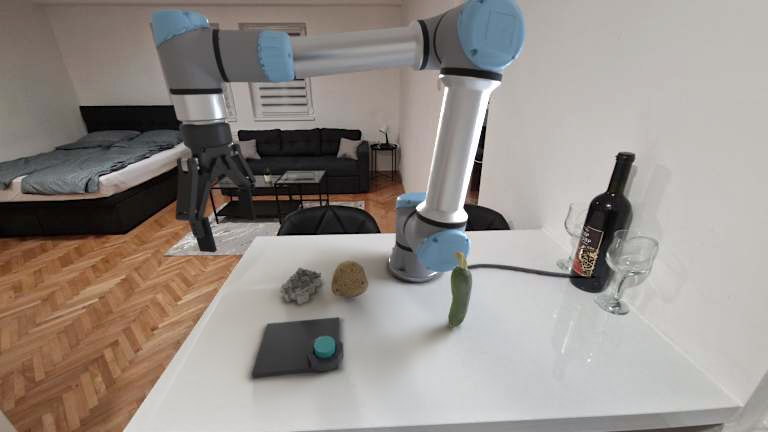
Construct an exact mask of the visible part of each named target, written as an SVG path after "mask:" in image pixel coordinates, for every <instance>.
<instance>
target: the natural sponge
mask: <svg viewBox="0 0 768 432" xmlns="http://www.w3.org/2000/svg"><path fill="white" fill-rule="evenodd" d="M330 286H331V287H330V289H331V292H332V294H333V295H335V296H337V297H343V298H356V297H359V296H361V295H363V294H364V293H365V292H366V291H367V289H368V287H369V280H368V276H367V273H366V270H365V268H364V267H363V266H362V265H361V264H360V263H358V262H357V261H354V260H346V261H342V262H340V263H339V264H338V265H337V266H336V267H335V269H334V271H333V275H332V280H331V285H330Z"/></svg>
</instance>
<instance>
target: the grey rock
mask: <svg viewBox="0 0 768 432" xmlns="http://www.w3.org/2000/svg"><path fill="white" fill-rule="evenodd" d="M321 278H322V273H321V272H316V270H311V269H307V268H306V269H305V268H303V267H298V268H297V270H296V271H295V272H294V273H293V274H292V275H290V277H289V278H288V279H287V280H286V281H285V282H284V283H282V284H281V285H280V289H279V294H282V295H283V298H284V300H285V302H288V303H290V302H291V301H296V302H297V305H298V304H299V305H302V304H304V303H307V302H308V301H310V295H311V294H312V295H313V294H314V293H315V292H316V291H315V290H316V289H315V288H316V287H319V286H321V282H320V280H321ZM295 288H297V289H295ZM293 289H295V292H294V291H293Z"/></svg>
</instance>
